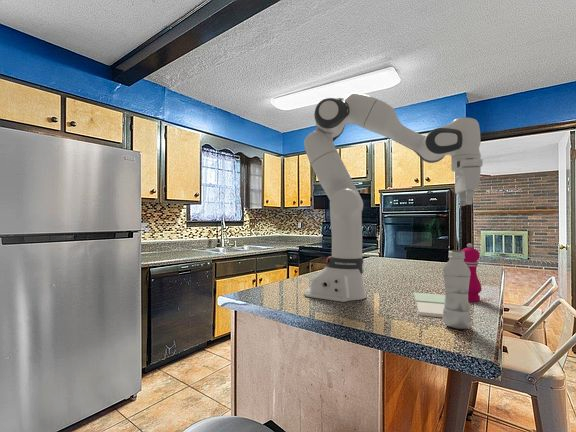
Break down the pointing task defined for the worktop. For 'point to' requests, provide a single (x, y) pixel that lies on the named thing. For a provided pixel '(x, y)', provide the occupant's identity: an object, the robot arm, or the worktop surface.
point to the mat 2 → (430, 309)
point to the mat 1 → (429, 298)
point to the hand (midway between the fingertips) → (465, 205)
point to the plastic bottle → (456, 291)
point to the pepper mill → (472, 273)
